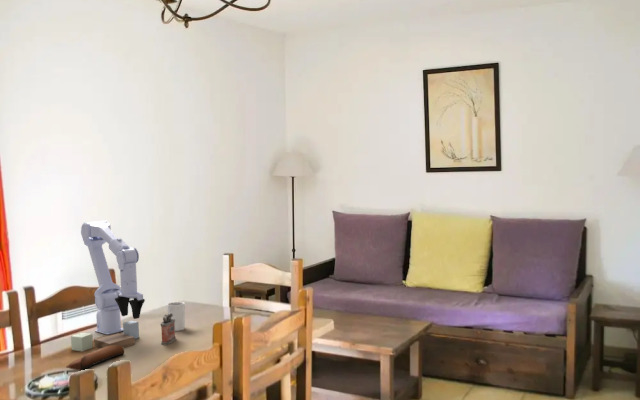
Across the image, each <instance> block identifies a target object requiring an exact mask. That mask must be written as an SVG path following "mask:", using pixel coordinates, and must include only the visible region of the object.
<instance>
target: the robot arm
mask: <svg viewBox="0 0 640 400" xmlns="http://www.w3.org/2000/svg"><path fill="white" fill-rule="evenodd" d="M80 229H81V230H80V234H81V237H82V241H83V244H84V245H85V246H86V247H87V249H88V252H89V256H90V258H91V262H92V266H93V270H94V272H95V276H96V280H97V283H98V287H97V289H96V290H95V292H94V293H93V294H94V295H93V296H94V305H95V307H96V308H97V309H98V310H97V312H96V315H95V316H96V329H95V330H94V331H95V332H97V333H99V334H104V335H106V336H109V335H113V334H116V333H121V332H123V327H122V321H121V319H122V318H121V317H125V316H129V315H128V314H129V305H130V307H131V312H132V318H133V319H134V320H135V319H136V320H137V319H139V318H140V316H141V311H142V308H143V305H144V303H145V302H146V299H145V298H144V294H142V293H140V291H138V282H137V281H138V279H137V263H138V262H139V258H140V257H139V255H140V254H139V251H138V249H137V248H136V247H130V246H129V245H128V244H127V243H126V242H125V241H124V240H123V239H122V238H121V237H116V236H115V234H114V232H113V231H112V228H111V224H110V222H109V221H108V220H106V219H105V220H99V221H89V222H88V221H87V222H86V221H85V222H83V223H82V225H81V226H80ZM105 243H107V244H108V249H109V250H110V251H111V253H112V254H114V255H115V259H116V262H117V267H118V269H119V277H120V285H118V284H116V283H114V282H113V279H112V276H111V272H110V269H109V266H108V262H107V259H106V256H105V252H104V249H103V245H104V244H105Z"/></svg>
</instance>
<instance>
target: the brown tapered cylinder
mask: <svg viewBox="0 0 640 400" xmlns="http://www.w3.org/2000/svg"><path fill="white" fill-rule="evenodd" d="M124 354H125V349H124V347H122V346H121V345H111V346H107V347H104V348H99V349H96V350H94V351H90V352H89V353H88V352H87V353H85V354H84V356H82V357H80V358H78V359H76V360H74V361H72V362H70V363H69V364H67V365H66V366H65V367H66V368H67V369H71V370H72V369H73V370H77V371H81V370H82V371H83V370H85V368H86V369H87V368H88V369H89V368H90V367H92V366H93V365H97V364H98V363H101V362H103V361H106V360H108V359H112V358H114V357H117V356H119V355H124Z"/></svg>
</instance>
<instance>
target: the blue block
mask: <svg viewBox="0 0 640 400" xmlns="http://www.w3.org/2000/svg"><path fill="white" fill-rule="evenodd" d="M122 328H123V331H122V332H123V333H122V334H125V335H128V336H132V337H134V340H136V339H139V338H140V328H139V321H136V320H129V321H124V322H122Z"/></svg>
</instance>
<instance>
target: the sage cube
mask: <svg viewBox="0 0 640 400" xmlns="http://www.w3.org/2000/svg"><path fill="white" fill-rule="evenodd" d="M70 338H71V339H70V341H71V351H78V352H85V351H87V350H91V349H92V348H94V338H93V333H88V332H80V333H77V334H74V335H71V336H70Z"/></svg>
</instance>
